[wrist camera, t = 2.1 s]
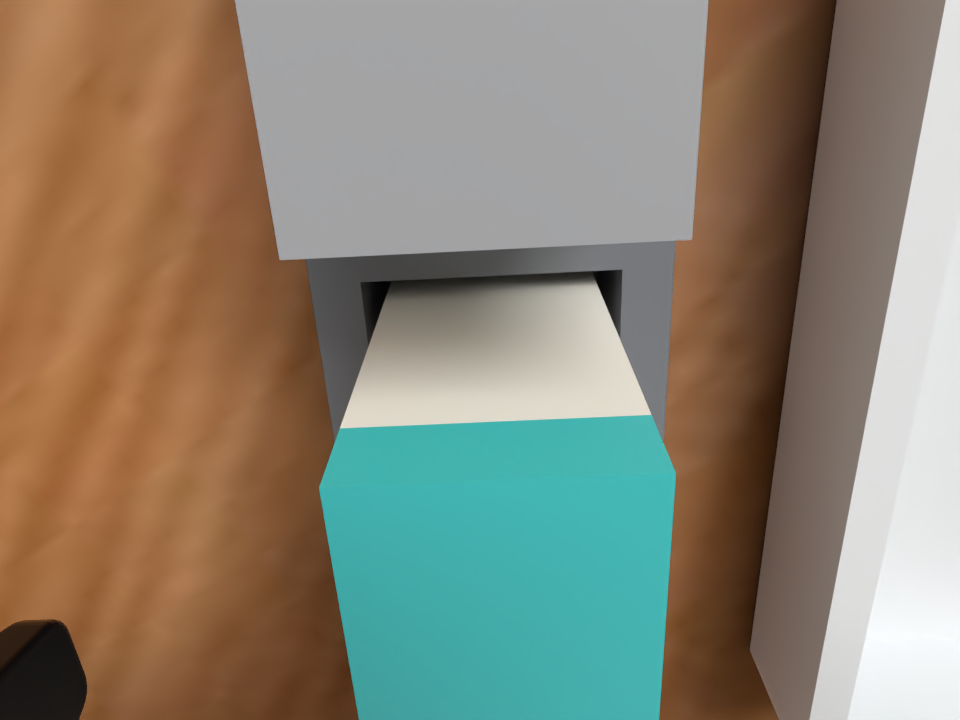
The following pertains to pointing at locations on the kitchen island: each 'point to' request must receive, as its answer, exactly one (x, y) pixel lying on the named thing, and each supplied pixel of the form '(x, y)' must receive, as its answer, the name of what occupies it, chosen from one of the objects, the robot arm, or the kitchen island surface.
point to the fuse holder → (616, 268)
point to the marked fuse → (500, 508)
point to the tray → (873, 390)
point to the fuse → (475, 122)
